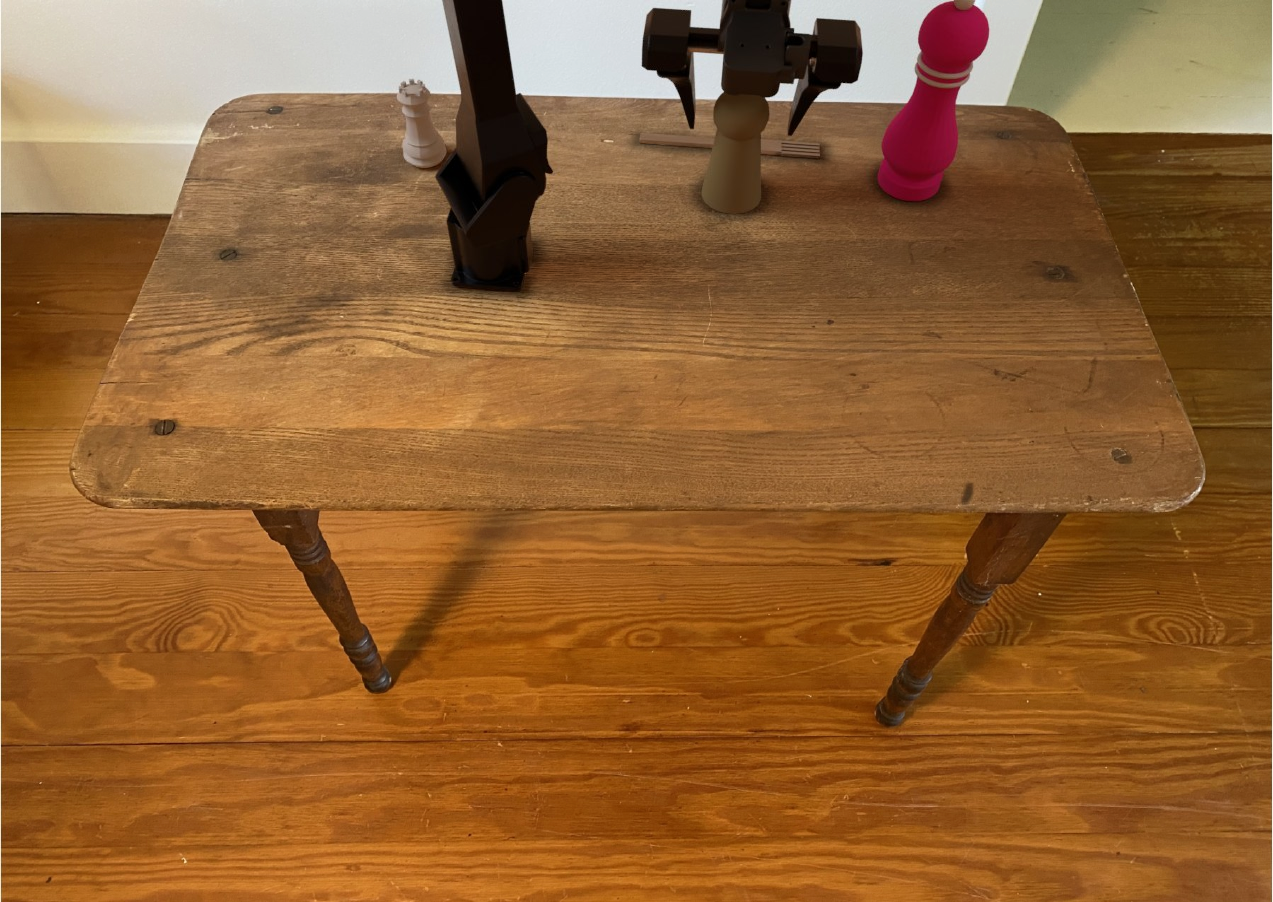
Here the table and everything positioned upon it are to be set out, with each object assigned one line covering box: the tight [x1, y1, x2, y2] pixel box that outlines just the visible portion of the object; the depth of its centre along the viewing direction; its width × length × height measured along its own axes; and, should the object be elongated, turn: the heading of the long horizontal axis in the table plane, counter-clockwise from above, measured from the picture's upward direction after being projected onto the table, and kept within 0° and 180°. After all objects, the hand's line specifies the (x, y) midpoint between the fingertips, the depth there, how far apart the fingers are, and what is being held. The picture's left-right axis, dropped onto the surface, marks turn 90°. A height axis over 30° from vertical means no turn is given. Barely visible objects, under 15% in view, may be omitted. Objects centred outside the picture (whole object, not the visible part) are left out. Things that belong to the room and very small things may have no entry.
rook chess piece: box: [396, 78, 447, 169], centre depth 92 cm, size 4×4×8 cm
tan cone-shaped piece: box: [701, 91, 770, 215], centre depth 88 cm, size 6×6×11 cm
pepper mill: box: [877, 0, 990, 202], centre depth 86 cm, size 7×7×20 cm
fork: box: [639, 132, 821, 160], centre depth 97 cm, size 19×2×1 cm, turn 85°
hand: (740, 130), depth 87 cm, fingers open, 9 cm apart
